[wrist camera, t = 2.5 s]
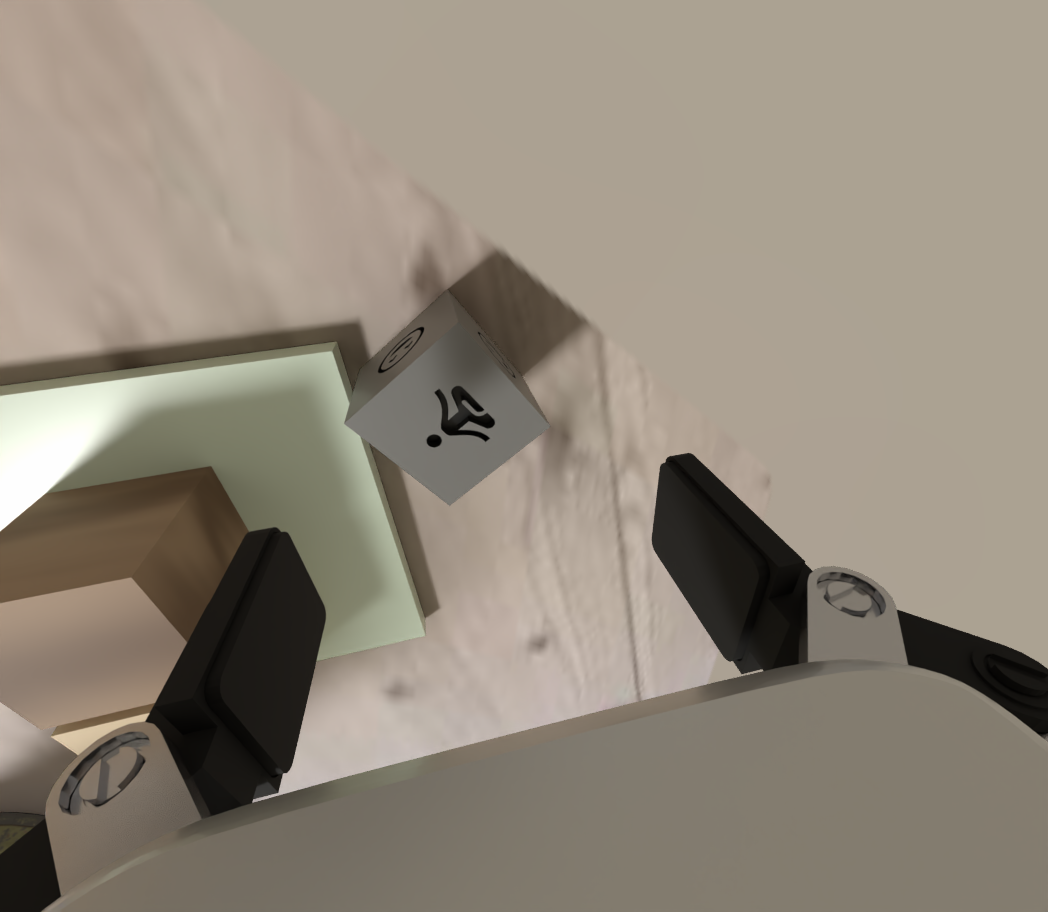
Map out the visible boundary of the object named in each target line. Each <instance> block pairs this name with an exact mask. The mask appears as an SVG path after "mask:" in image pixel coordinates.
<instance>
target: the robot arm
mask: <svg viewBox="0 0 1048 912" xmlns="http://www.w3.org/2000/svg"><path fill="white" fill-rule="evenodd" d="M652 545H653V548H654V551H655V552H656V554H657V556H658V557H659V559H660V560H661V562H662V563H663V565H664V566H665V568H666V569H667V571H668V572H669V574H670V575H671V577H672V579H673V580H674V582H675V583H676V585H677V586H678V588H679V589H680V591H681V592H682V594H683V595H684V597H685V598H686V600H687V601H688V603H689V605H690V606H691V608H692V609H693V611H694V612H695V614H696V615H697V617H698V618H699V620H700V621H701V623H702V624H703V626H704V628H705V629H706V631H707V632H708V634H709V635H710V637H711V638H712V640H713V641H714V643H715V644H716V646H717V647H718V649H719V650H720V652H721V653H722V655H723V656H724V658H725V659H726V660H728V661H733V662H734V663H735V665H736V666H737V668H738V669H739V671H740V672H741V674H744V673H748V672H752V671H756V670H760V669H763V672H758V673H754V674H750V675H745V676H741V677H737V678H733V679H728V680H724V681H719V682H715V683H711V684H707V685H703V686H699V687H695V688H691V689H687V690H683V691H679V692H675V693H671V694H667V695H663V696H659V697H655V698H651V699H647V700H643V701H639V702H635V703H631V704H627V705H623V706H619V707H615V708H611V709H607V710H603V711H599V712H595V713H591V714H588V715H584V716H580V717H576V718H572V719H568V720H564V721H560V722H556V723H552V724H548V725H544V726H540V727H537V728H533V729H529V730H525V731H521V732H517V733H513V734H509V735H505V736H502V737H498V738H494V739H490V740H486V741H482V742H478V743H474V744H470V745H467V746H463V747H459V748H455V749H451V750H447V751H444V752H440V753H436V754H432V755H428V756H424V757H421V758H417V759H413V760H409V761H405V762H402V763H398V764H394V765H390V766H386V767H382V768H379V769H375V770H371V771H367V772H363V773H359V774H356V775H352V776H348V777H344V778H340V779H337V780H333V781H329V782H326V783H322V784H319V785H315V786H311V787H308V788H304V789H301V790H297V791H294V792H290V793H286V794H283V795H279V796H276V797H272V798H269V799H265V800H261V801H258V802H254V803H252V801H253V799H256V798H260V797H264V796H268V795H271V794H275V793H278V791H279V787H280V783H281V779H282V775H283V773H287V772H288V771H289V770H290V768H291V766H292V763H293V759H294V755H295V751H296V747H297V742H298V738H299V734H300V729H301V725H302V721H303V716H304V712H305V708H306V704H307V699H308V695H309V691H310V686H311V682H312V678H313V673H314V669H315V665H316V661H317V656H318V652H319V648H320V643H321V639H322V635H323V631H324V626H325V622H326V610H325V606H324V604H323V602H322V600H321V598H320V596H319V594H318V592H317V589H316V587H315V585H314V583H313V581H312V579H311V577H310V575H309V573H308V571H307V569H306V567H305V565H304V563H303V561H302V559H301V557H300V555H299V553H298V551H297V549H296V547H295V545H294V543H293V541H292V539H291V537H290V535H289V534H288V533H287V532H281V531H280V530H279V529H278V528H277V527H272V528H266V529H261V530H255V531H250V532H248V533H247V534H246V535H245V536H244V538H243V540H242V542H241V544H240V546H239V548H238V550H237V551H236V553H235V555H234V557H233V559H232V561H231V563H230V565H229V566H228V568H227V570H226V572H225V574H224V576H223V578H222V580H221V582H220V583H219V585H218V587H217V589H216V591H215V593H214V595H213V597H212V599H211V600H210V602H209V603H208V605H207V606H206V608H205V610H204V612H203V614H202V616H201V618H200V619H199V621H198V623H197V625H196V627H195V629H194V631H193V633H192V634H191V636H190V638H189V640H188V642H187V644H186V646H185V648H184V649H183V651H182V653H181V655H180V657H179V659H178V661H177V663H176V664H175V666H174V668H173V670H172V672H171V674H170V676H169V678H168V679H167V681H166V683H165V685H164V687H163V689H162V691H161V693H160V694H159V696H158V698H157V700H156V702H155V704H154V706H153V708H152V709H151V711H150V713H149V715H148V717H147V719H146V721H145V722H137V723H131V724H127V725H125V726H122V727H120V728H117V729H115V730H113V731H111V732H109V733H108V734H106V735H104V736H103V737H101V738H99V739H98V740H96V741H95V742H94V743H92V744H91V745H90V746H89V747H88V748H86V749H85V750H84V751H83V752H81V753H80V754H79V755H78V756H77V757H76V758H75V759H74V760H73V761H72V762H71V763H70V764H69V766H68V767H67V768H66V769H65V770H64V771H63V773H62V774H61V776H60V777H59V778H58V780H57V781H56V783H55V784H54V786H53V787H52V790H51V792H50V794H49V797H48V799H47V801H46V809H45V819H44V820H42V821H41V822H40V823H39V824H37V825H36V826H35V827H34V828H32V829H31V830H30V831H29V832H27V833H26V834H25V835H24V836H22V837H21V838H20V839H19V840H17V841H16V842H15V843H14V844H12V845H11V846H10V847H9V848H7V849H6V850H5V851H4V852H2V853H1V854H0V912H1048V669H1047V668H1046V667H1044V666H1043V665H1042V664H1040V663H1039V662H1037V661H1035V660H1034V659H1032V658H1030V657H1029V656H1027V655H1025V654H1023V653H1021V652H1019V651H1017V650H1014V649H1012V648H1009V647H1007V646H1004V645H1001V644H998V643H995V642H992V641H989V640H986V639H983V638H980V637H978V636H975V635H972V634H969V633H966V632H963V631H959V630H956V629H953V628H950V627H948V626H945V625H942V624H939V623H936V622H932V621H930V620H927V619H923V618H921V617H918V616H914V615H912V614H909V613H906V612H903V611H899V610H897V609H896V606H895V603H894V601H893V599H892V597H891V596H890V595H889V593H888V592H887V591H886V590H885V589H884V588H883V587H882V586H880V585H879V584H878V583H876V582H875V581H874V580H872V579H871V578H869V577H867V576H865V575H863V574H861V573H859V572H855V571H853V570H850V569H847V568H841V567H835V566H833V567H832V566H831V567H821V568H818V569H815V570H814V571H812V570H811V569H810V568H809V567H808V566H807V565H806V564H805V561H804V560H803V559H802V558H801V557H800V556H799V555H798V554H797V553H796V552H795V551H794V550H793V549H792V548H790V547H789V546H788V545H787V544H786V543H785V542H784V541H783V540H782V539H781V538H780V537H779V536H778V535H777V534H776V533H775V532H774V531H773V530H772V529H771V528H770V527H768V526H767V525H766V524H765V523H764V522H763V521H762V520H761V519H760V518H759V517H758V516H757V515H756V514H755V513H754V512H753V511H752V510H751V509H750V508H749V507H748V506H746V505H745V504H744V503H743V502H742V501H741V500H740V499H739V498H738V497H737V496H736V495H735V494H734V493H733V492H732V491H731V490H730V489H729V488H728V487H727V486H725V485H724V484H723V483H722V482H721V481H720V480H719V479H718V478H717V477H716V476H715V475H714V474H713V473H712V472H711V471H710V470H709V469H708V468H707V467H706V466H705V465H703V464H702V463H701V462H700V461H699V460H698V459H697V458H696V457H695V456H694V455H693V454H691V453H686V454H680V455H675V456H670V457H668V458H667V459H666V462H665V463H663V464H661V466H660V473H659V481H658V490H657V498H656V507H655V515H654V524H653V532H652Z"/></svg>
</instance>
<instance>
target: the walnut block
mask: <svg viewBox="0 0 1048 912" xmlns="http://www.w3.org/2000/svg"><path fill="white" fill-rule="evenodd" d="M248 532H249V530H248V529H247V527H246V525H245V524H244V522H243V520H242V518H241V517H240V515H239V513H238V511H237V510H236V508H235V506H234V505H233V503H232V501H231V499H230V498H229V496H228V494H227V493H226V491H225V489H224V487H223V486H222V484H221V482H220V480H219V479H218V477H217V475H216V474H215V472H214V470H213V468H212V467H211V466H209V467H203V468H197V469H191V470H185V471H179V472H173V473H167V474H161V475H155V476H149V477H143V478H136V479H130V480H124V481H118V482H112V483H106V484H100V485H94V486H88V487H82V488H76V489H70V490H64V491H58V492H52V493H46V494H44V495H43V496H42V497H40V498H39V499H38V500H37V501H36V502H34V503H33V504H32V505H31V506H30V507H28V508H27V509H26V510H25V511H24V512H22V513H21V514H20V515H19V516H18V517H17V518H15V519H14V520H13V521H12V522H11V523H9V524H8V525H7V526H6V527H5V528H3V529H2V530H1V531H0V702H1V703H3V704H4V705H5V706H7V707H8V708H10V709H11V710H13V711H14V712H16V713H17V714H19V715H20V716H21V717H23V718H24V719H26V720H27V721H29V722H30V723H32V724H33V725H35V726H36V727H38V728H39V729H40V730H43V729H47V728H51V727H55V726H59V725H64V724H68V723H72V722H76V721H81V720H85V719H89V718H93V717H98V716H102V715H106V714H110V713H114V712H119V711H123V710H127V709H131V708H136V707H140V706H144V705H148V704H152V703H155V702H156V700H157V698H158V696H159V694H160V693H161V691H162V689H163V687H164V685H165V683H166V681H167V679H168V678H169V676H170V674H171V672H172V670H173V668H174V666H175V664H176V663H177V661H178V659H179V657H180V655H181V653H182V651H183V649H184V648H185V646H186V644H187V642H188V640H189V638H190V636H191V634H192V633H193V631H194V629H195V627H196V625H197V623H198V621H199V619H200V618H201V616H202V614H203V612H204V610H205V608H206V606H207V605H208V603H209V602H210V600H211V599H212V597H213V595H214V593H215V591H216V589H217V587H218V585H219V583H220V582H221V580H222V578H223V576H224V574H225V572H226V570H227V568H228V566H229V565H230V563H231V561H232V559H233V557H234V555H235V553H236V551H237V550H238V548H239V546H240V544H241V542H242V540H243V538H244V536H245V535H246V534H247V533H248Z"/></svg>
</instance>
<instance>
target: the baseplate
mask: <svg viewBox="0 0 1048 912" xmlns="http://www.w3.org/2000/svg"><path fill="white" fill-rule="evenodd" d="M352 394H353V391H352V388H351V385H350V382H349V378H348V375H347V372H346V369H345V366H344V363H343V360H342V356H341V353H340V350H339V347H338V344H337V342H329V343H322V344H314V345H307V346H299V347H292V348H284V349H276V350H269V351H261V352H254V353H246V354H239V355H231V356H223V357H216V358H208V359H201V360H193V361H186V362H178V363H170V364H163V365H155V366H148V367H140V368H133V369H125V370H117V371H110V372H102V373H95V374H87V375H80V376H72V377H65V378H57V379H49V380H42V381H34V382H27V383H19V384H12V385H4V386H0V531H1V530H2V529H3V528H5V527H6V526H7V525H8V524H9V523H11V522H12V521H13V520H14V519H15V518H17V517H18V516H19V515H20V514H21V513H22V512H24V511H25V510H26V509H27V508H28V507H30V506H31V505H32V504H33V503H34V502H36V501H37V500H38V499H39V498H40V497H42V496H43V495H44V494H46V493H52V492H58V491H64V490H70V489H76V488H82V487H88V486H94V485H100V484H106V483H112V482H118V481H124V480H130V479H136V478H143V477H149V476H155V475H161V474H167V473H173V472H179V471H185V470H191V469H197V468H203V467H209V466H211V467H212V468H213V470H214V472H215V474H216V475H217V477H218V479H219V480H220V482H221V484H222V486H223V487H224V489H225V491H226V493H227V494H228V496H229V498H230V499H231V501H232V503H233V505H234V506H235V508H236V510H237V511H238V513H239V515H240V517H241V518H242V520H243V522H244V524H245V525H246V527H247V529H248V530H249V532H250V531H255V530H261V529H266V528H272V527H277V528H278V529H279V530H280V531H281V532H287V533H288V534H289V535H290V537H291V539H292V541H293V543H294V545H295V547H296V549H297V551H298V553H299V555H300V557H301V559H302V561H303V563H304V565H305V567H306V569H307V571H308V573H309V575H310V577H311V579H312V581H313V583H314V585H315V587H316V589H317V592H318V594H319V596H320V598H321V600H322V602H323V604H324V606H325V610H326V622H325V626H324V631H323V635H322V639H321V643H320V648H319V652H318V656H317V661H321V660H325V659H329V658H333V657H337V656H342V655H346V654H350V653H354V652H359V651H363V650H367V649H371V648H376V647H380V646H384V645H388V644H393V643H397V642H401V641H405V640H410V639H414V638H418V637H422V636H426V631H425V617H424V614H423V611H422V608H421V605H420V602H419V598H418V595H417V592H416V589H415V586H414V583H413V580H412V576H411V573H410V570H409V567H408V564H407V561H406V558H405V554H404V551H403V548H402V545H401V542H400V539H399V536H398V532H397V529H396V526H395V523H394V520H393V517H392V514H391V510H390V507H389V504H388V501H387V498H386V495H385V492H384V488H383V485H382V482H381V479H380V476H379V473H378V470H377V466H376V463H375V460H374V457H373V454H372V451H371V448H370V444H369V443H368V442H367V441H366V440H364V439H363V438H362V437H361V436H359V435H358V434H357V433H355V432H354V431H353V430H352V429H350V428H349V427H348V426H346V425H345V424H344V422H345V418H346V415H347V411H348V408H349V405H350V401H351V398H352Z"/></svg>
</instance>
